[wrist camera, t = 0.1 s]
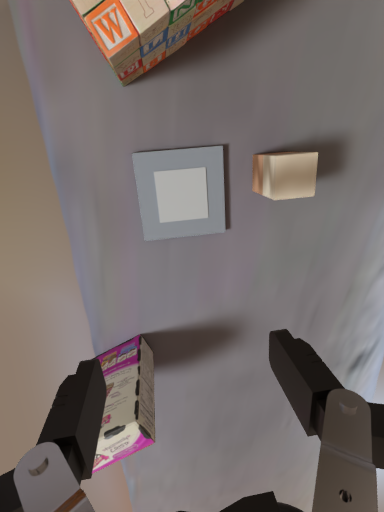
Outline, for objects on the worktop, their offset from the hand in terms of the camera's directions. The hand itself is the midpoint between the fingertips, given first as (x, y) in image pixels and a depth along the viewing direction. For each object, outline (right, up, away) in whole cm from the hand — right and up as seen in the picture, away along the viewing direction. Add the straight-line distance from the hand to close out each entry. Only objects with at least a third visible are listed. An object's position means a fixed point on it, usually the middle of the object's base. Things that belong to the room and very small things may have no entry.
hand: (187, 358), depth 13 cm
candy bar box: (-12, -13, +35) cm, 39 cm away
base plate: (-1, +14, +26) cm, 29 cm away
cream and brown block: (+11, +17, +27) cm, 34 cm away
